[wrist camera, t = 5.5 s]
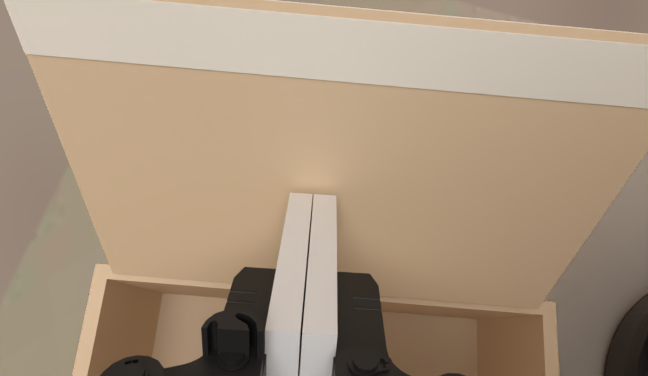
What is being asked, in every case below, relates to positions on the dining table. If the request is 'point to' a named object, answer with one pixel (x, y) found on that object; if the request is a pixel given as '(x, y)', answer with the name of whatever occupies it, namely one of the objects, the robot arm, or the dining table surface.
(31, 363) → the dining table surface
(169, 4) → the light wood flat panel
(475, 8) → the dining table surface
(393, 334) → the light wood open box
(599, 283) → the dining table surface
